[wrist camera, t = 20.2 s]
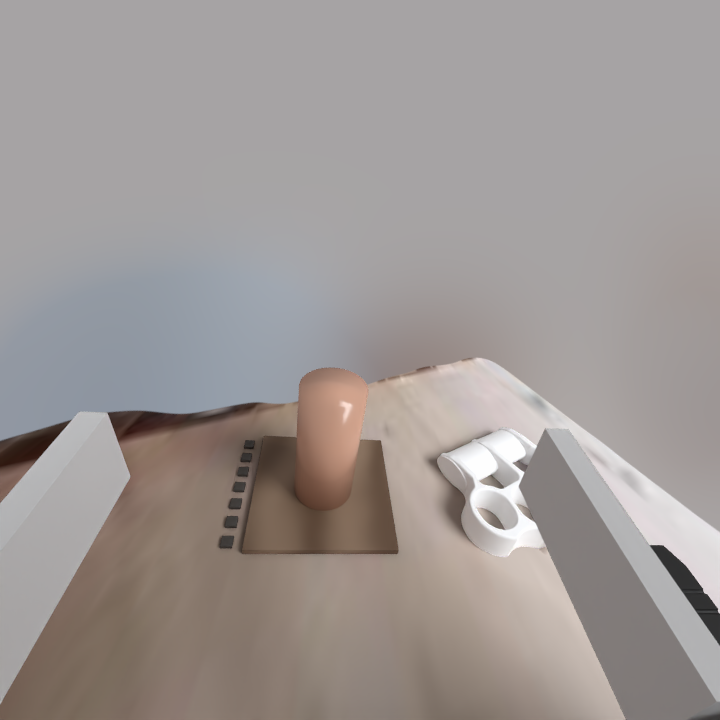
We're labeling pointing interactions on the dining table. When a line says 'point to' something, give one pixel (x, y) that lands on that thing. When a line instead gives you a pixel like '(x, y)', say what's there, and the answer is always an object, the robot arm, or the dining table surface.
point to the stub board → (308, 526)
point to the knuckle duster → (493, 490)
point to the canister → (328, 436)
